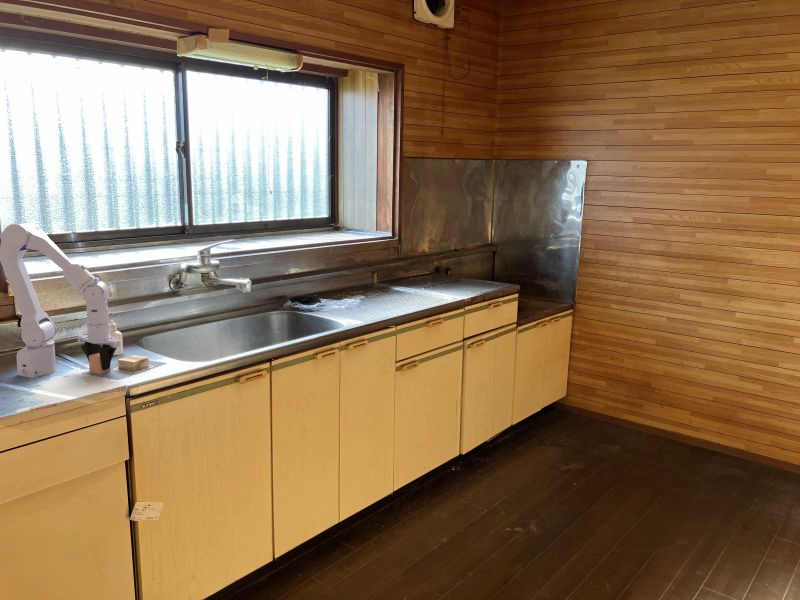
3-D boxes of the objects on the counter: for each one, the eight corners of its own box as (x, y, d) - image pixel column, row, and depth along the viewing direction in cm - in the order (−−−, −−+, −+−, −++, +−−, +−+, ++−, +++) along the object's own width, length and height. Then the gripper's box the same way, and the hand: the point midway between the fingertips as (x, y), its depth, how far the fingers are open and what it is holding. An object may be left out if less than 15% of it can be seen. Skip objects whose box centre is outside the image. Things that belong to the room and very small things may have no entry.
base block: (134, 371, 189) (133, 362, 189) (118, 369, 191) (118, 359, 191) (148, 366, 195) (148, 357, 194) (133, 364, 197) (133, 355, 196)
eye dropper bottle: (112, 358, 205) (111, 322, 203) (102, 355, 208) (100, 319, 206) (125, 355, 209) (123, 320, 207) (114, 353, 212) (112, 317, 210)
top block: (99, 373, 186) (99, 357, 185) (89, 371, 188) (88, 355, 187) (110, 370, 190) (109, 354, 189) (100, 368, 191) (99, 352, 190)
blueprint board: (118, 382, 181) (118, 379, 181) (81, 375, 186) (81, 372, 186) (167, 365, 200) (167, 362, 200) (132, 359, 205) (132, 357, 204)
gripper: (127, 323, 187) (129, 368, 190) (90, 318, 192) (92, 361, 195) (108, 328, 181) (110, 374, 183) (70, 322, 186) (73, 367, 188)
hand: (100, 368), depth 189 cm, fingers closed on top block, 4 cm apart
